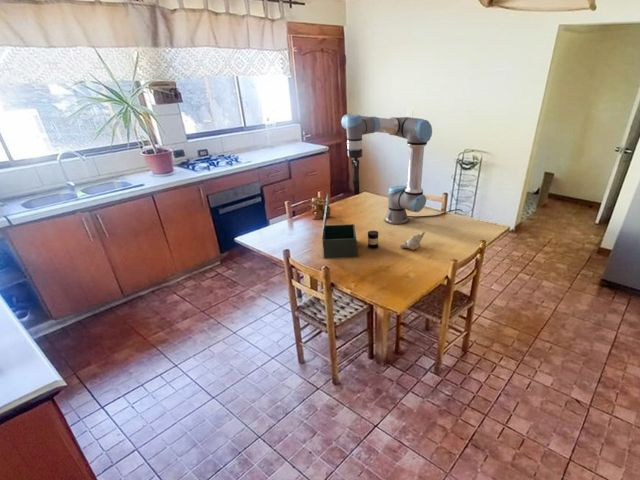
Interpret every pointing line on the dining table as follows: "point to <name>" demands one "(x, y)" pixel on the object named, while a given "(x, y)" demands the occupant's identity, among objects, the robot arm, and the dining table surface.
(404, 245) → the seashell
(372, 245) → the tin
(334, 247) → the open box
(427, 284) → the dining table surface
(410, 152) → the robot arm
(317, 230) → the dining table surface
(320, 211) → the stuffed squirrel
